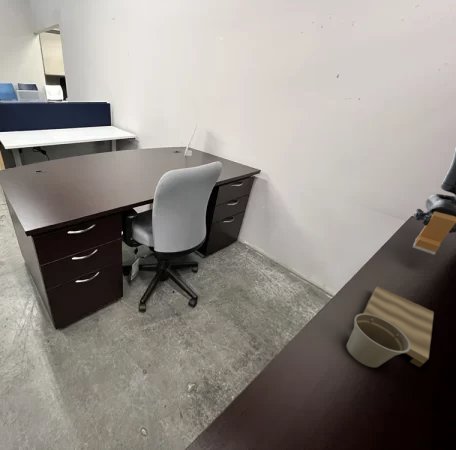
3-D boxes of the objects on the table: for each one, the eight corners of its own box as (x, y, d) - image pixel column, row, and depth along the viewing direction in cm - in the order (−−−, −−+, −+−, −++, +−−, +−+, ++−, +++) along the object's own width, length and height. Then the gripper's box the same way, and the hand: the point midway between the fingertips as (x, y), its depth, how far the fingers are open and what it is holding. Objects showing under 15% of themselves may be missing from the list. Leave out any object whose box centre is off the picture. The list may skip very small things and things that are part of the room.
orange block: (416, 238, 88) (434, 211, 83) (437, 244, 84) (457, 216, 79) (412, 247, 82) (432, 218, 76) (434, 254, 78) (456, 225, 73)
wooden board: (370, 295, 73) (377, 286, 71) (424, 322, 65) (434, 311, 63) (353, 332, 61) (361, 321, 59) (417, 369, 53) (428, 358, 51)
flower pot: (390, 357, 55) (412, 333, 51) (385, 386, 49) (409, 362, 45) (343, 330, 61) (359, 306, 57) (333, 353, 55) (350, 329, 51)
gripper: (422, 198, 92) (416, 208, 82) (479, 211, 82) (480, 225, 72) (410, 215, 95) (404, 227, 85) (464, 230, 86) (463, 246, 76)
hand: (439, 226), depth 79 cm, fingers closed on orange block, 5 cm apart
